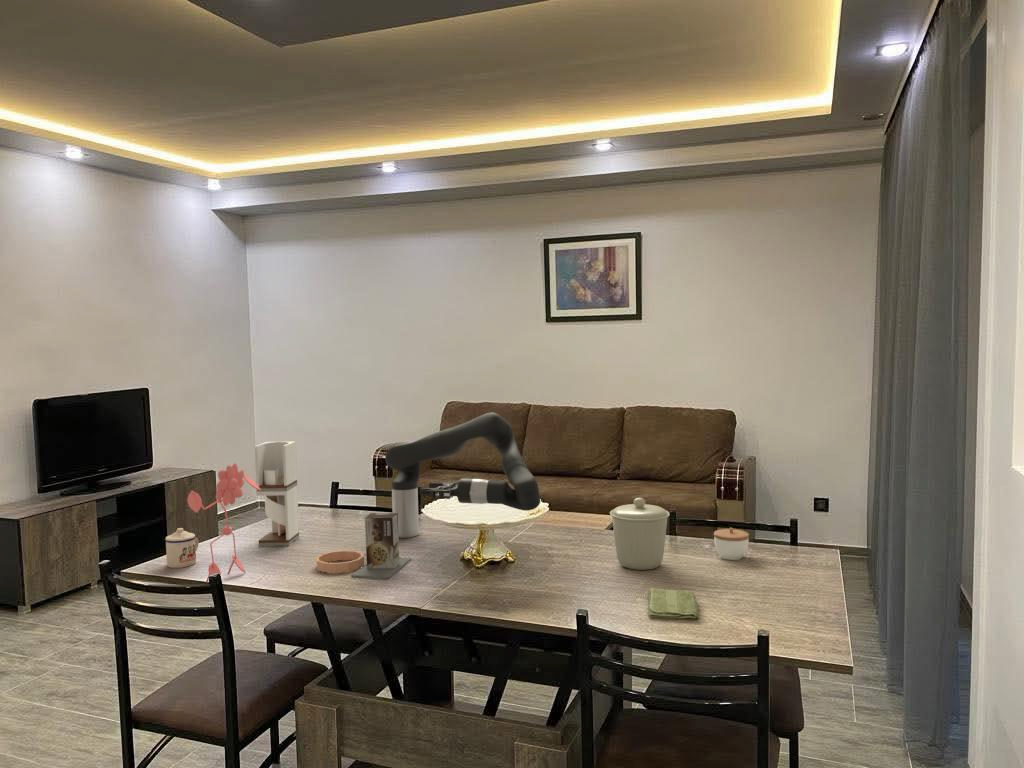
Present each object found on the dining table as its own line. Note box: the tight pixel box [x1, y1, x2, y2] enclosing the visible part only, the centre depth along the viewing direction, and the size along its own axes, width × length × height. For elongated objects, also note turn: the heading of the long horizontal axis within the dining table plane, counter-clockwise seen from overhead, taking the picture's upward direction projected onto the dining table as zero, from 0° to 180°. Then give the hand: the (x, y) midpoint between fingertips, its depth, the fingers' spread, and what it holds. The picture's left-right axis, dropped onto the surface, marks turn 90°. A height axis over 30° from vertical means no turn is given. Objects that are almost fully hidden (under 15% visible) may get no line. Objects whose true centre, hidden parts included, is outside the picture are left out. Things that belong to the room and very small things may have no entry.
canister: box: [609, 497, 670, 571], centre depth 238 cm, size 18×18×21 cm
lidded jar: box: [713, 527, 750, 561], centre depth 245 cm, size 11×11×9 cm
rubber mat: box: [350, 556, 412, 580], centre depth 241 cm, size 20×12×1 cm, turn 168°
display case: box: [254, 441, 300, 547], centre depth 274 cm, size 11×11×35 cm
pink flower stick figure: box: [187, 462, 261, 588], centre depth 230 cm, size 15×26×35 cm, turn 158°
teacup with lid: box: [164, 527, 199, 569], centre depth 250 cm, size 12×9×12 cm
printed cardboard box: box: [364, 512, 400, 569], centre depth 240 cm, size 9×6×16 cm
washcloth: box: [646, 588, 701, 620], centre depth 201 cm, size 13×18×3 cm
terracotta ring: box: [315, 549, 365, 574], centre depth 244 cm, size 14×14×3 cm
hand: (424, 488), depth 240 cm, fingers open, 8 cm apart
